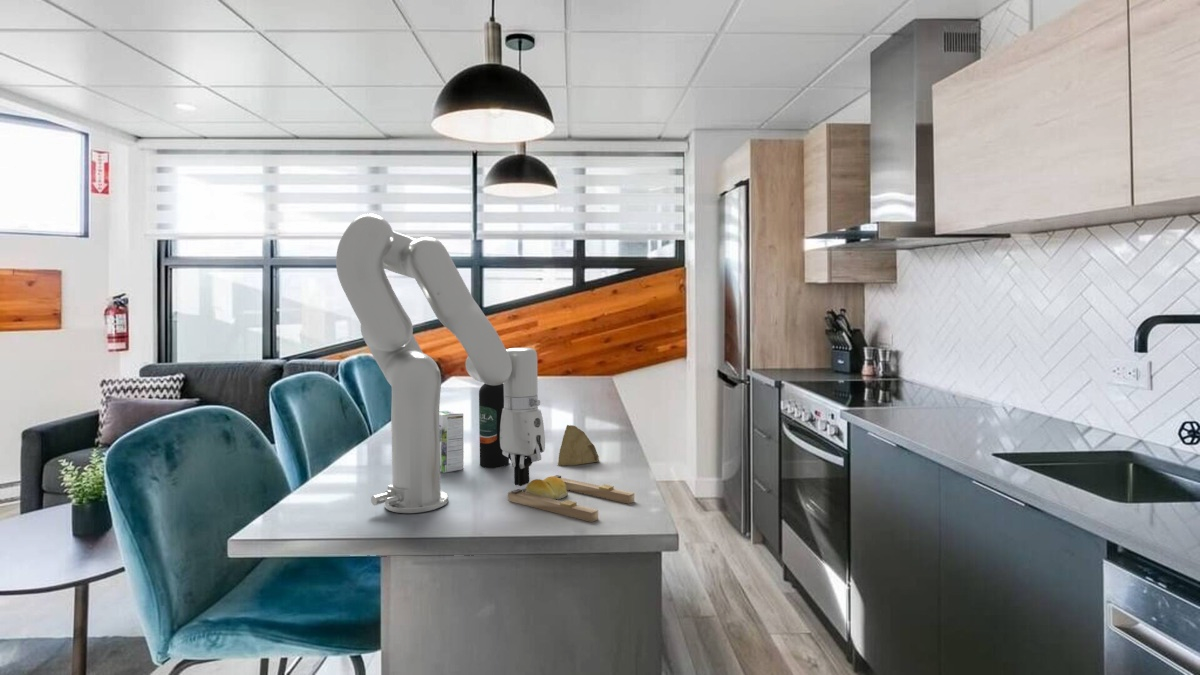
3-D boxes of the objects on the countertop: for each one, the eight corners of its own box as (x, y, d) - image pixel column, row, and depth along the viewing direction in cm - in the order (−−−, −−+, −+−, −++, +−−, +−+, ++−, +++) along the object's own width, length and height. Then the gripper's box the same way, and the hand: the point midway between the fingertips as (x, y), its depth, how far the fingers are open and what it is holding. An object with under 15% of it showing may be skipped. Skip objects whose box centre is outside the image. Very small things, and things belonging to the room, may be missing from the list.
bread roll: (520, 494, 132) (520, 476, 132) (558, 488, 136) (558, 471, 136) (532, 505, 125) (532, 486, 125) (572, 499, 129) (572, 480, 129)
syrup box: (433, 468, 153) (432, 412, 152) (454, 464, 156) (453, 409, 156) (443, 473, 148) (442, 415, 147) (464, 469, 152) (464, 412, 151)
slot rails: (591, 522, 114) (591, 510, 114) (508, 500, 127) (508, 490, 127) (634, 501, 127) (634, 490, 126) (554, 483, 139) (554, 473, 139)
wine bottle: (512, 466, 155) (510, 349, 153) (482, 469, 152) (481, 350, 150) (505, 459, 162) (504, 348, 160) (477, 462, 159) (475, 348, 158)
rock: (605, 449, 163) (570, 442, 166) (603, 429, 157) (567, 421, 160) (592, 482, 155) (556, 474, 158) (590, 461, 150) (552, 453, 152)
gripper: (557, 403, 133) (558, 485, 134) (508, 398, 142) (509, 475, 142) (535, 408, 127) (536, 494, 128) (484, 402, 135) (486, 482, 136)
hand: (521, 484), depth 135 cm, fingers closed
